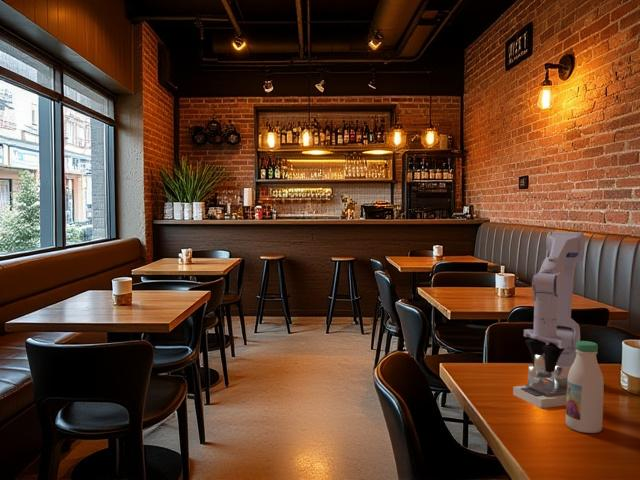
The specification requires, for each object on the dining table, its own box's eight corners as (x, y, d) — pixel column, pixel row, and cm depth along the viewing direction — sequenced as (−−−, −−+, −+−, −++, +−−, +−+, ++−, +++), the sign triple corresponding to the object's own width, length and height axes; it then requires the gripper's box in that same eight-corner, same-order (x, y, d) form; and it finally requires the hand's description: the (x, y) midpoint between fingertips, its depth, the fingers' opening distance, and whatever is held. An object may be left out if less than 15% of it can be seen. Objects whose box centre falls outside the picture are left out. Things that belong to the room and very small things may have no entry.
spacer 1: (530, 373, 153) (531, 353, 152) (545, 372, 154) (545, 352, 153) (540, 378, 148) (541, 357, 148) (555, 377, 149) (555, 356, 149)
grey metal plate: (558, 382, 158) (558, 380, 158) (579, 391, 150) (580, 389, 150) (525, 386, 154) (525, 384, 154) (545, 395, 147) (545, 393, 147)
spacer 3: (562, 382, 156) (562, 363, 156) (574, 387, 152) (574, 367, 151) (549, 384, 155) (549, 364, 154) (560, 389, 150) (561, 368, 150)
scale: (555, 389, 159) (555, 381, 159) (584, 402, 149) (585, 393, 149) (513, 394, 155) (513, 385, 155) (540, 408, 145) (540, 398, 144)
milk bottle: (599, 423, 134) (602, 340, 133) (604, 436, 127) (607, 348, 126) (564, 419, 137) (567, 337, 136) (567, 431, 130) (570, 345, 129)
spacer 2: (537, 382, 166) (537, 364, 166) (547, 387, 162) (548, 368, 162) (524, 383, 165) (525, 365, 164) (534, 388, 161) (535, 369, 160)
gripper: (515, 314, 156) (513, 362, 157) (552, 324, 142) (550, 378, 143) (536, 312, 158) (534, 361, 159) (574, 323, 144) (573, 375, 145)
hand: (543, 368), depth 151 cm, fingers closed on spacer 1, 4 cm apart
